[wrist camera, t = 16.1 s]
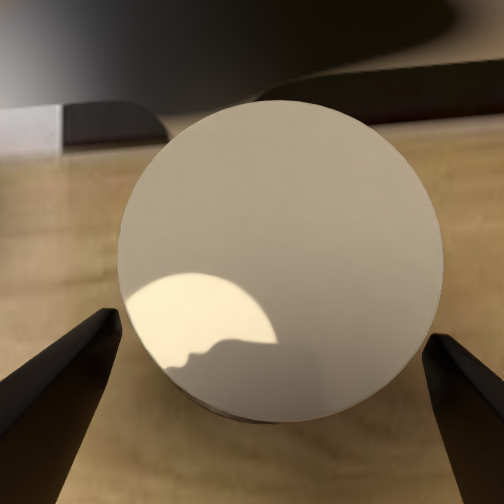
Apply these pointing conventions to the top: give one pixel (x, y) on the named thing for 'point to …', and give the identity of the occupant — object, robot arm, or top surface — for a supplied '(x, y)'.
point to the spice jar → (280, 261)
